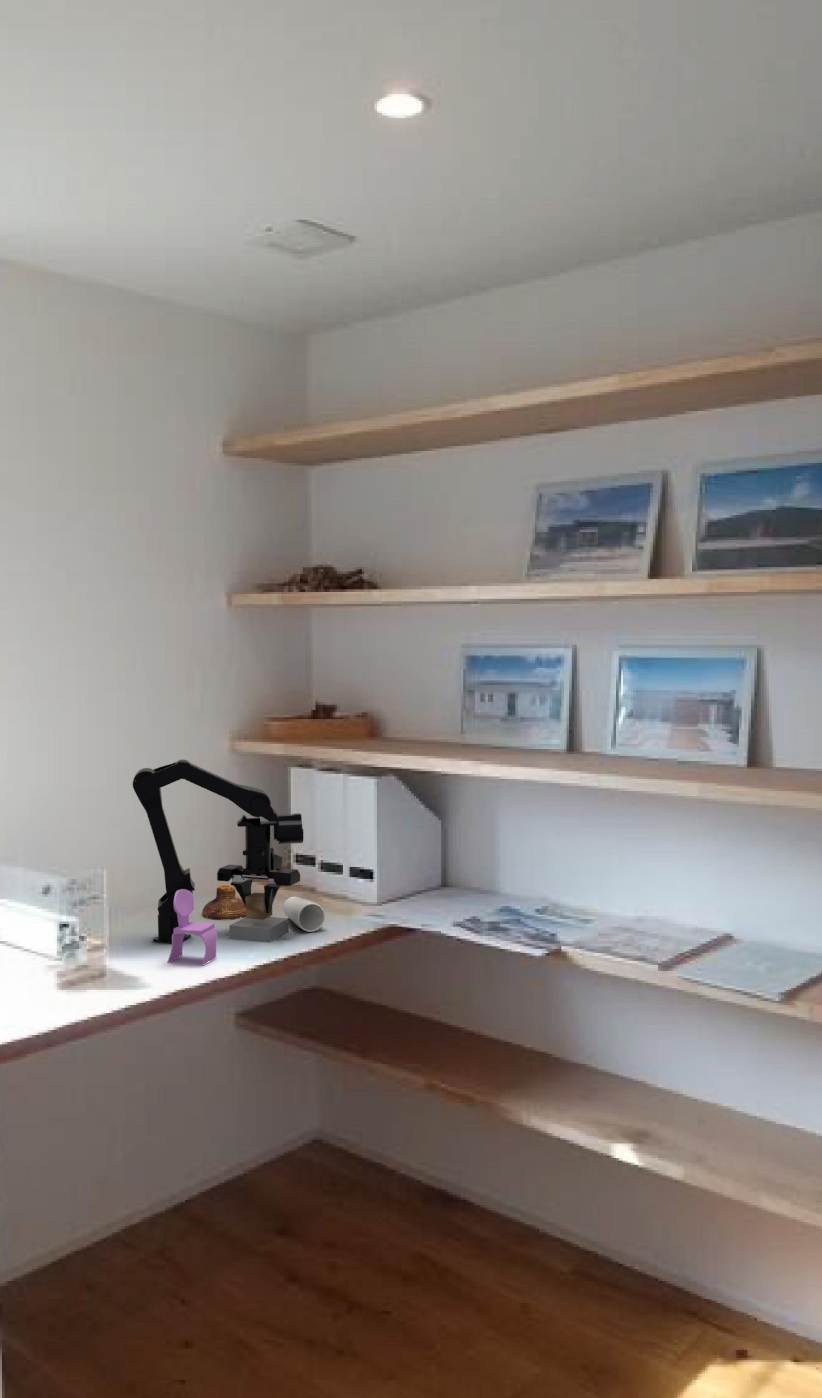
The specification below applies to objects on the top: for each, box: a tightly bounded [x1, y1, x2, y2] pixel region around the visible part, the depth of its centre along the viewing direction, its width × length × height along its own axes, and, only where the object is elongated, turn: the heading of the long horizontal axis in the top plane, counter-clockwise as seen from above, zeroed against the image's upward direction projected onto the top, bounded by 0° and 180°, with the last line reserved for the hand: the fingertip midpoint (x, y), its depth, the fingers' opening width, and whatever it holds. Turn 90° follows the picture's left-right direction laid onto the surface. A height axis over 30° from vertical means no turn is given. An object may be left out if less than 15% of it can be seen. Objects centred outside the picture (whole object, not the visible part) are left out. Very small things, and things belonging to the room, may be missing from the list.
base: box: [228, 916, 290, 943], centre depth 269 cm, size 10×10×3 cm
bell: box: [201, 884, 246, 921], centre depth 288 cm, size 12×12×7 cm
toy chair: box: [166, 889, 218, 965], centre depth 248 cm, size 8×9×15 cm
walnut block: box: [245, 892, 273, 920], centre depth 268 cm, size 4×4×5 cm
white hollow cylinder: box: [282, 896, 326, 933], centre depth 277 cm, size 7×7×15 cm
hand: (258, 912), depth 268 cm, fingers closed on walnut block, 4 cm apart
